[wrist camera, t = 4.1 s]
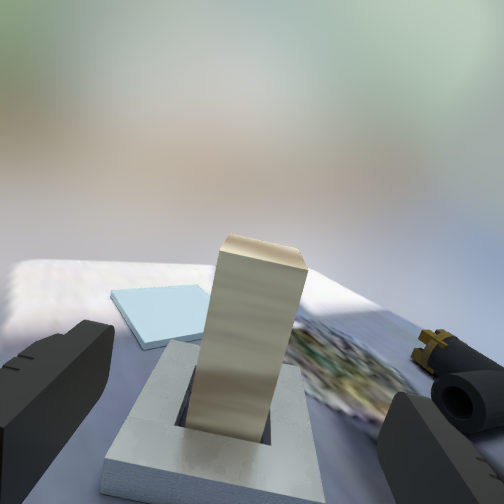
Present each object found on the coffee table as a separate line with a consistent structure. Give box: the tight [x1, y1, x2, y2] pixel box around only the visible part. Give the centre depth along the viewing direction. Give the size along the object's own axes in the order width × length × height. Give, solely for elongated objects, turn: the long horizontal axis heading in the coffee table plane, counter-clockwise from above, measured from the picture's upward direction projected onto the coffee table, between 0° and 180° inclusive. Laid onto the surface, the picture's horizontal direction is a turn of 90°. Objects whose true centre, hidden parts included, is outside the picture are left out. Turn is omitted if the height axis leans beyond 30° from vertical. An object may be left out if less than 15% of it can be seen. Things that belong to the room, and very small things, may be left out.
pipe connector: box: [411, 329, 504, 434], centre depth 35 cm, size 12×5×15 cm
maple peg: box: [184, 234, 308, 443], centre depth 21 cm, size 5×5×14 cm
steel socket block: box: [100, 339, 326, 504], centre depth 22 cm, size 12×12×2 cm
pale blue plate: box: [111, 285, 210, 350], centre depth 38 cm, size 12×12×1 cm
